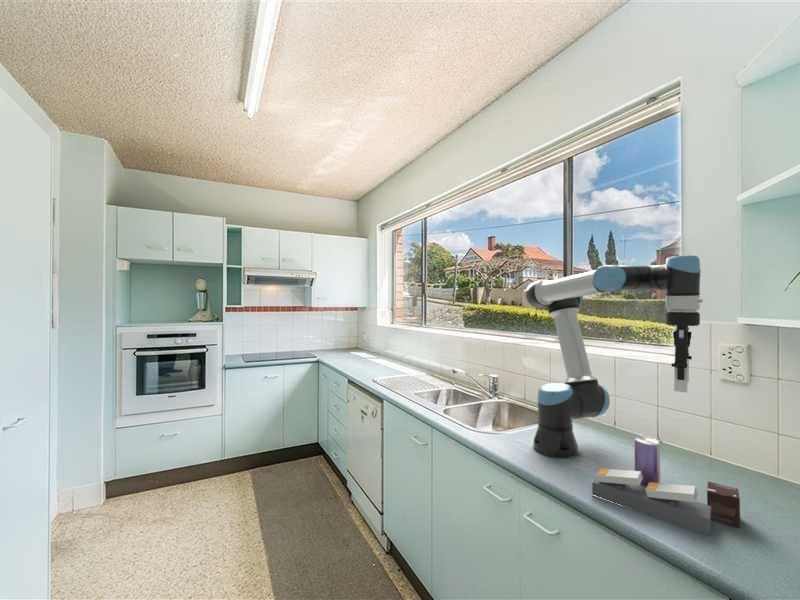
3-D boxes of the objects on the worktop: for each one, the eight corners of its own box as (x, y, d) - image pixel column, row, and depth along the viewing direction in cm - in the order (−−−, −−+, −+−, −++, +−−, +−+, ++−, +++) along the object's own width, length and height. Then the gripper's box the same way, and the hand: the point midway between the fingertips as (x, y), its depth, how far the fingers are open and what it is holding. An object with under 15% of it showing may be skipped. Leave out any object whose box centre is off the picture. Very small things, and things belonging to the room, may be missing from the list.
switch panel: (592, 496, 101) (592, 479, 101) (599, 486, 106) (599, 470, 106) (709, 536, 83) (709, 515, 83) (711, 522, 89) (711, 502, 89)
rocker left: (598, 481, 100) (596, 474, 101) (603, 475, 104) (601, 467, 104) (639, 485, 94) (637, 477, 94) (642, 478, 97) (640, 470, 98)
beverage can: (649, 499, 98) (648, 445, 98) (629, 488, 104) (629, 437, 104) (665, 496, 100) (665, 442, 100) (645, 485, 106) (645, 435, 106)
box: (739, 517, 90) (739, 488, 90) (740, 529, 86) (740, 499, 86) (707, 508, 94) (707, 480, 94) (707, 519, 90) (706, 490, 90)
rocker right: (647, 497, 93) (645, 488, 93) (651, 489, 96) (648, 481, 96) (696, 502, 86) (693, 493, 86) (697, 493, 89) (695, 485, 90)
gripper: (699, 313, 88) (698, 399, 89) (700, 309, 107) (699, 379, 108) (662, 313, 93) (661, 393, 94) (668, 308, 112) (668, 375, 113)
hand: (681, 386), depth 101 cm, fingers open, 13 cm apart
